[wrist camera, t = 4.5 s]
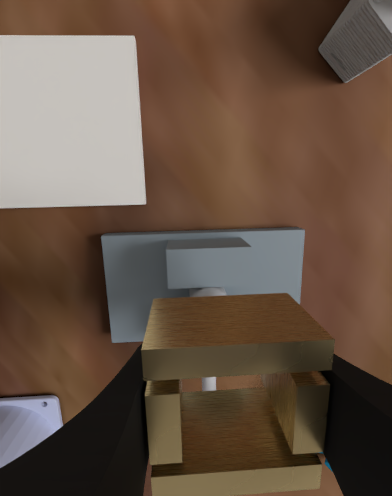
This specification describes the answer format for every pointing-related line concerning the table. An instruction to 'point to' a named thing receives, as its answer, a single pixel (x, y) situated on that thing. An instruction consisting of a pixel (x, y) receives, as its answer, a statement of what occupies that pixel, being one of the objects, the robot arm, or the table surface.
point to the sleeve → (235, 395)
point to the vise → (195, 270)
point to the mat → (70, 122)
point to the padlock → (359, 38)
